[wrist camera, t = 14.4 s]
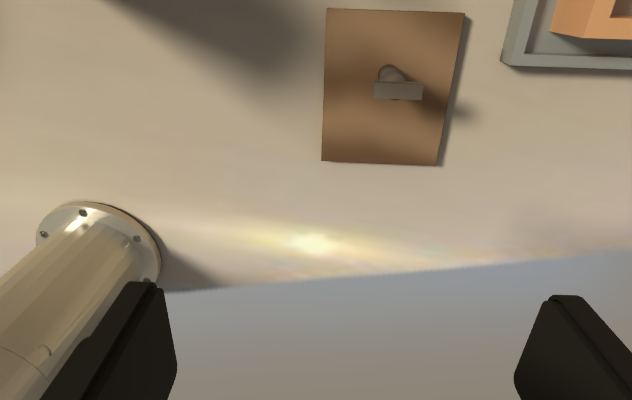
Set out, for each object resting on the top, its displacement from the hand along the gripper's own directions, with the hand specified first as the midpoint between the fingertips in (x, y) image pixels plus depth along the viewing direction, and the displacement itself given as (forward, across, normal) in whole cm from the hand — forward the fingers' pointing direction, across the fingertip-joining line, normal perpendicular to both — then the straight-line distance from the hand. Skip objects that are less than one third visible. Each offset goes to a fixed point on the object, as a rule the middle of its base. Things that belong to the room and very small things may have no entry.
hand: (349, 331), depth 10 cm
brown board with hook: (+25, -5, -1) cm, 26 cm away
